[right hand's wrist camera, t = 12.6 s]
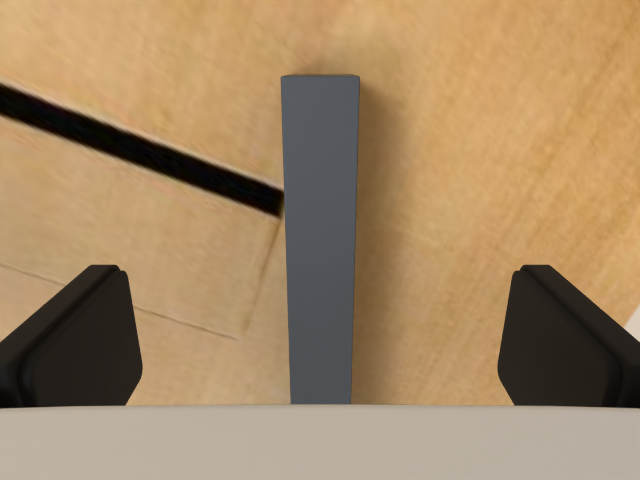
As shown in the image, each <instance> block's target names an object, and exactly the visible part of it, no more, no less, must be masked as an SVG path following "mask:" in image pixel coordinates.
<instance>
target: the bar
mask: <svg viewBox="0 0 640 480" xmlns="http://www.w3.org/2000/svg"><path fill="white" fill-rule="evenodd" d="M359 85H360V77H359V76H356V75H286V76H281V102H282V134H283V167H284V199H285V231H286V264H287V296H288V328H289V361H290V393H291V404H351V378H352V342H353V305H354V268H355V232H356V195H357V158H358V122H359Z"/></svg>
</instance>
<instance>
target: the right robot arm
mask: <svg viewBox="0 0 640 480" xmlns="http://www.w3.org/2000/svg"><path fill="white" fill-rule="evenodd" d="M141 375H142V359H141V353H140V347H139V341H138V335H137V329H136V323H135V317H134V311H133V305H132V299H131V293H130V287H129V281H128V276H127V273H126V272H125V271H120V269H119V267H118V266H117V265H90V266H89V267H87V268H86V269H85V270H84V271H83V272H82V273H81V274H79V275H78V276H77V277H76V278H75V279H74V280H72V281H71V282H70V283H69V284H68V285H67V286H65V287H64V288H63V289H62V290H61V291H60V292H58V293H57V294H56V295H55V296H54V297H53V298H51V299H50V300H49V301H48V302H47V303H46V304H44V305H43V306H42V307H41V308H40V309H39V310H37V311H36V312H35V313H34V314H33V315H32V316H30V317H29V318H28V319H27V320H26V321H25V322H23V323H22V324H21V325H20V326H19V327H18V328H16V329H15V330H14V331H13V332H12V333H11V334H9V335H8V336H7V337H6V338H5V339H4V340H2V341H1V342H0V480H640V342H639V341H638V340H636V339H635V338H634V337H633V336H632V335H631V334H629V333H628V332H627V331H626V330H625V329H624V328H622V327H621V326H620V325H619V324H618V323H617V322H615V321H614V320H613V319H612V318H611V317H610V316H608V315H607V314H606V313H605V312H604V311H603V310H601V309H600V308H599V307H598V306H597V305H596V304H594V303H593V302H592V301H591V300H590V299H589V298H587V297H586V296H585V295H584V294H583V293H582V292H580V291H579V290H578V289H577V288H576V287H575V286H573V285H572V284H571V283H570V282H569V281H568V280H566V279H565V278H564V277H563V276H562V275H561V274H559V273H558V272H557V271H556V270H555V269H554V268H553V267H551V266H550V265H523V266H522V267H521V269H520V271H515V272H514V273H513V276H512V281H511V287H510V293H509V299H508V305H507V311H506V317H505V323H504V329H503V335H502V341H501V347H500V353H499V359H498V375H499V379H500V381H501V383H502V384H503V386H504V388H505V389H506V391H507V393H508V395H509V396H510V398H511V400H512V402H513V403H514V405H515V406H490V405H374V404H289V405H150V406H125V405H126V403H127V402H128V400H129V398H130V396H131V395H132V393H133V391H134V389H135V388H136V386H137V384H138V383H139V381H140V379H141Z"/></svg>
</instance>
